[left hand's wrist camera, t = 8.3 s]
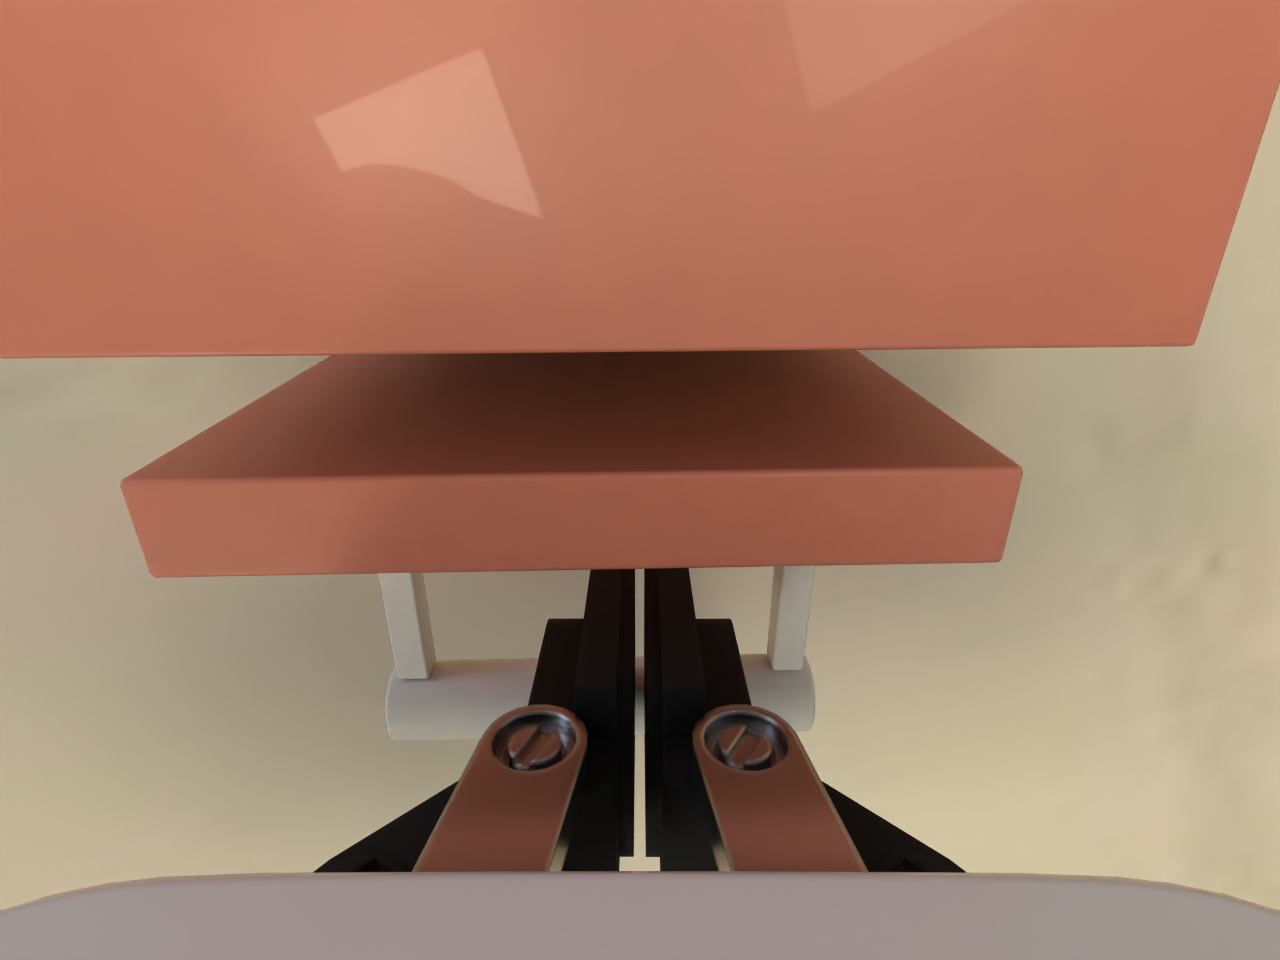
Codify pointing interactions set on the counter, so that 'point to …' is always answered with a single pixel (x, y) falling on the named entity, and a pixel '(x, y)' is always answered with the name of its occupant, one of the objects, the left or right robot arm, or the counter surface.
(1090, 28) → the cabinet
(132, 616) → the counter surface
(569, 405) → the drawer
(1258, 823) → the counter surface
